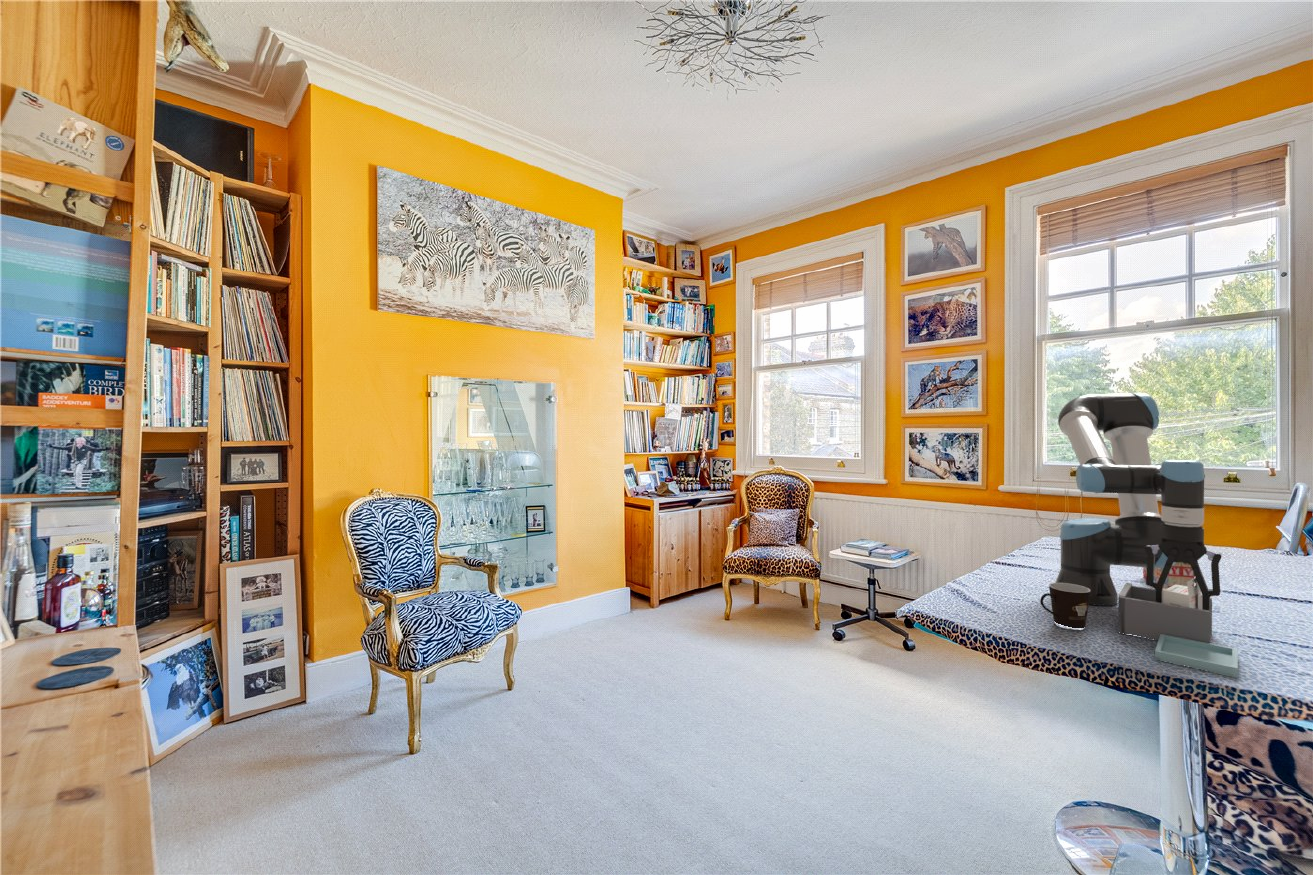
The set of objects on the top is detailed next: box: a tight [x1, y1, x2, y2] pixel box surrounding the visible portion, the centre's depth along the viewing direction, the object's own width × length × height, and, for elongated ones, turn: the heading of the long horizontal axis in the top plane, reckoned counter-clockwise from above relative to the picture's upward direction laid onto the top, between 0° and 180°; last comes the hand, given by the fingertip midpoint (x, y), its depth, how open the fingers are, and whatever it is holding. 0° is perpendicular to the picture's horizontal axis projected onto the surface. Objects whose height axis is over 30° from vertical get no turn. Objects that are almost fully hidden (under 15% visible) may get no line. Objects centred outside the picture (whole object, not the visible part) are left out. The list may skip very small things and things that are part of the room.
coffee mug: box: [1039, 582, 1091, 628], centre depth 144 cm, size 12×9×10 cm
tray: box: [1154, 634, 1239, 679], centre depth 123 cm, size 13×14×2 cm
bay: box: [1117, 582, 1213, 644], centre depth 137 cm, size 16×14×10 cm
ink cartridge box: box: [1163, 577, 1202, 609], centre depth 135 cm, size 9×5×15 cm, turn 122°
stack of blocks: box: [1142, 562, 1195, 589], centre depth 174 cm, size 21×6×12 cm, turn 154°
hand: (1181, 619), depth 135 cm, fingers closed on ink cartridge box, 6 cm apart
